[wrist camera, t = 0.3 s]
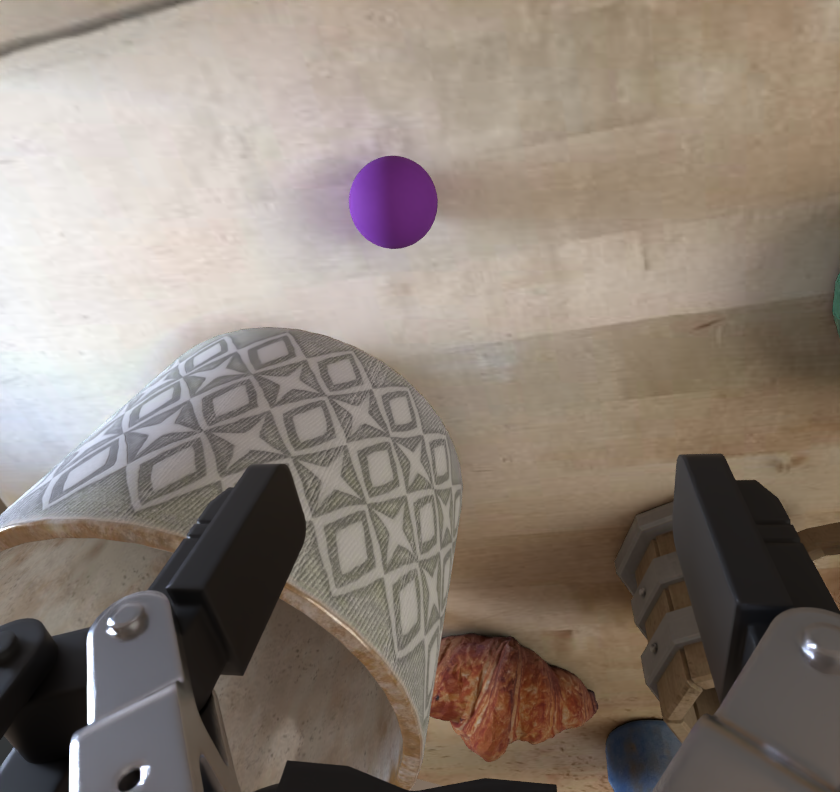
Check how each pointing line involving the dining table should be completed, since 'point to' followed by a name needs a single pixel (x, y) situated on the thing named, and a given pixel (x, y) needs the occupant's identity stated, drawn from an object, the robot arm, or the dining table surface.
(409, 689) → the planter
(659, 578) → the tankard
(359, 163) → the dining table surface
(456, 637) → the pastry
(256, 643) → the robot arm
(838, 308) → the bowl
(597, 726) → the dining table surface
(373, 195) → the ball
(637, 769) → the bottle
